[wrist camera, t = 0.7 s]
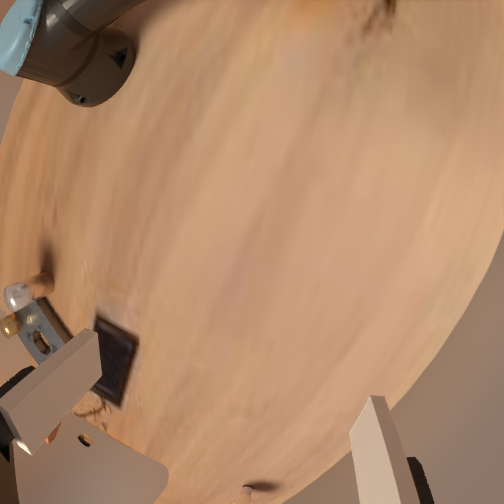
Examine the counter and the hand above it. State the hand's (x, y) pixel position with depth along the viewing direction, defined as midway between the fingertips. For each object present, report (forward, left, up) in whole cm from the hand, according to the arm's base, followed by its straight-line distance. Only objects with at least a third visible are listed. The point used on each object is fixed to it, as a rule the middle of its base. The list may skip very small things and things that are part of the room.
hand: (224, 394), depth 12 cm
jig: (-13, -51, -30) cm, 61 cm away
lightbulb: (+45, -39, -30) cm, 67 cm away
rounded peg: (-21, -39, -30) cm, 54 cm away
